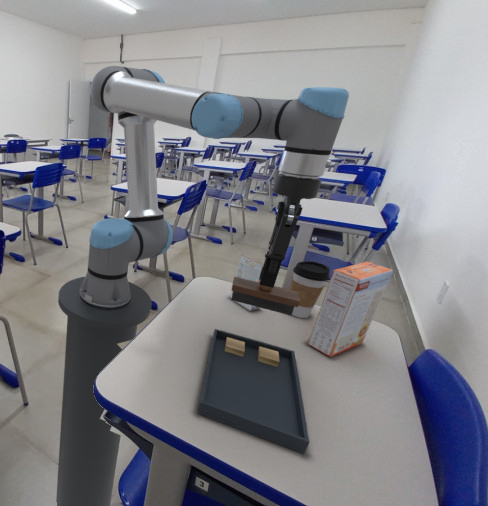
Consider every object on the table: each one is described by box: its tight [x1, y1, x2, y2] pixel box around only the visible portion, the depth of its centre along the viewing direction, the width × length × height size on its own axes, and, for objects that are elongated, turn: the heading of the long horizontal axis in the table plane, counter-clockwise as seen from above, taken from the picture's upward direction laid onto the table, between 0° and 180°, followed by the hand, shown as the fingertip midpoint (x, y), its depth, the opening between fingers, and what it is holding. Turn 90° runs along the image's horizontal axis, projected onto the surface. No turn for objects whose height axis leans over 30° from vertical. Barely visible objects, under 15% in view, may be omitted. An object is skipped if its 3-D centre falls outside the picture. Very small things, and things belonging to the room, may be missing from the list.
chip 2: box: [258, 346, 280, 367], centre depth 80 cm, size 4×4×2 cm
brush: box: [230, 245, 300, 316], centre depth 77 cm, size 5×13×14 cm, turn 63°
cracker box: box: [307, 261, 394, 358], centre depth 85 cm, size 14×6×21 cm, turn 115°
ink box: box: [230, 254, 264, 312], centre depth 103 cm, size 4×8×15 cm, turn 21°
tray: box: [197, 328, 310, 455], centre depth 73 cm, size 27×17×3 cm, turn 153°
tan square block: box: [225, 337, 245, 357], centre depth 83 cm, size 4×4×2 cm
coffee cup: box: [289, 260, 331, 319], centre depth 99 cm, size 8×8×15 cm
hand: (266, 282), depth 78 cm, fingers closed on brush, 3 cm apart
